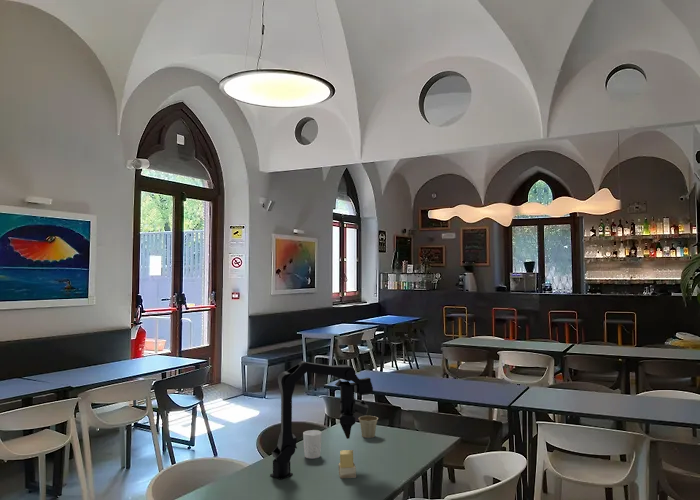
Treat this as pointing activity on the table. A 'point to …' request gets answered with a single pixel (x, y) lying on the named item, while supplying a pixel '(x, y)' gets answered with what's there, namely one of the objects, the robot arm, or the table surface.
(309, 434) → the white cup
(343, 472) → the birch base block
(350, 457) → the ochre block
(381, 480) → the table surface
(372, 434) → the flower pot
